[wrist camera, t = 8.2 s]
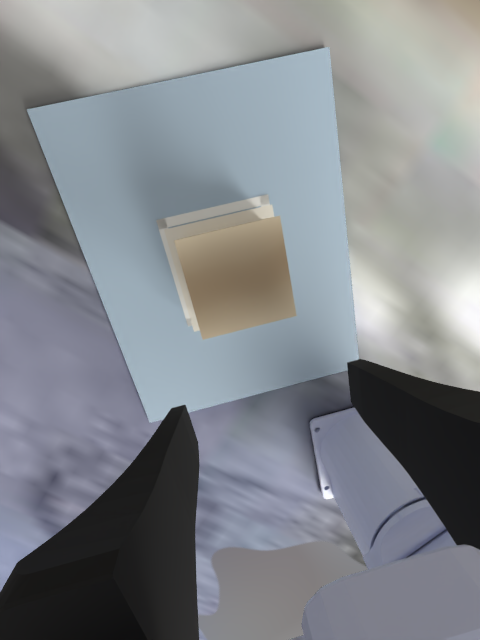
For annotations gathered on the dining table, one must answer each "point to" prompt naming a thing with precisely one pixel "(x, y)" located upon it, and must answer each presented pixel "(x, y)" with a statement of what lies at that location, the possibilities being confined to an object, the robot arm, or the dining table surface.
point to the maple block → (237, 276)
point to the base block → (202, 228)
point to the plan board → (205, 203)
